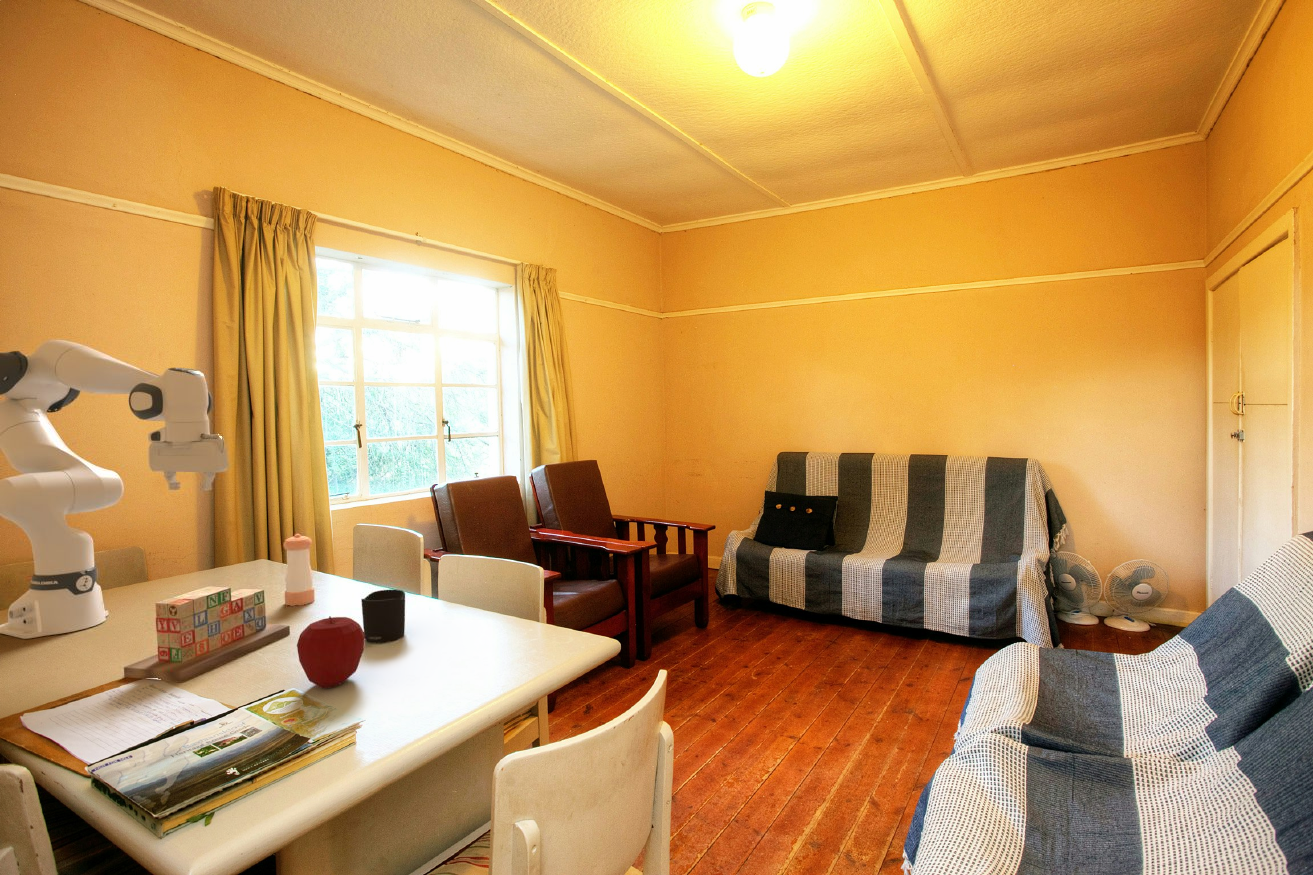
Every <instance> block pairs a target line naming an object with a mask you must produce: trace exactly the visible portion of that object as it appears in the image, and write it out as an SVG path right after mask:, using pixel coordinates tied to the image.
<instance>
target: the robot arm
mask: <svg viewBox="0 0 1313 875" xmlns="http://www.w3.org/2000/svg"><path fill="white" fill-rule="evenodd" d="M81 392H83V393H89V394H100V395H101V394H103V395H105V394H109V395H112V394H113V395H122V394H123V395H129V396H128V406H129V409H130V411H131V412H132V414H133V415H134V416H135V417H137V419H139V420H143V421H147V422H148V421H149V422H150V421H152V422H157V421H158V422H164V426H163V427H161V428H160V429H156V430H154V431H151V432H150V433H148V434H147V440H148V441H149V442H150V444H149V446H148V465H149V468H150V470H152V472H161V473H163V478H164V479H165V480H166V482H167V484H168V485H167V486H168V490H169V491H176V490H177V491H179V490H180V488H181V486H180V485H181V484H180V483H181V482H179V481H178V480H177V479H176V476H177V472H178V473H202V477H203V478H204V479H203V482H202V483H200V484H199V485H200V486H199V487H200V491H202V492H203V491H204V492H207V491H212V490H213V489H212V488H213V486H212V483H213V482H214V480H215V478H216V473H223V472H227V471H228V469H229V467H230V463H229V462H230V461H229V456H228V450H227V446H226V443H225V439H224V438H223V437H222V436H221V434H219V433H218V434H217V433H213V434H210V433H211V432H210V419H209V416H208V415H209V414H210V413H211V410H212V409H213V406H214V405H213V404H214V399H213V396H212V394H211V392H210V391H209V390H208V384H207V380H206V377H205V374H204V373H203V372H201V371H200V370H197V369H193V368H185V367H169V368H167V369H166V370H165V371H164V372H163V373H162V374H161V375H158V374H156V373H153V372H151V371H148V370H144V369H141V368H139V367H137V366H134V365H132V364H129V363H126V362H124V361H122V360H119V359H117V358H114V357H112V356H111V355H108V354H106V353H103V352H101V351H99V350H96V349H94V348H92V347H89V346H86V345H84V344H81V343H78V342H73V341H69V340H64V339H63V340H62V339H51V340H48V341H44V342H43V343H41V344H40V345H39V346H38V347H37V348H36V349H35V352H33V353H32V354H23V353H22V352H21V351H20V350H11V351H9V352H0V396H2V397H4V399H3V400H0V450H1V452H2V453H3V455H4V456H5V458H6V460H7V462H8V463H9V465H10V467H12V468H13V469H14V470H16V472H19V473H21V474H18V475H14V476H9V477H5V478H2V479H0V517H2V518H3V519H5V520H8V521H10V522H12V523H13V524H16V525H17V526H18V527H19V528H20V529H22V531H23V532H24V533H25V534H26V536H27V538H28V539H29V542H30V545H31V549H32V550H31V551H32V556H33V564H34V565H33V566H34V567H33V568H34V573H33V575H32V574H31V575H28V576H26V578H28V579H27V580H26V581H27V582H30V583H29V587H28V590H27V591H26V592H25V593H24V594H22V595H21V596H20V597H19V598H18V599H16V600H15V601H14V602H12V603H11V604H10V606H9V607H8V612H7V622H5V623H3V624H0V634H4V635H8V636H11V637H15V638H19V639H22V640H23V639H24V640H26V639H28V640H29V639H33V638H39V637H44V636H51V635H60V634H66V633H71V632H77V631H81V630H84V629H89V628H91V627H94V626H97V625H99V624H102V623H104V622H105V621H106V619H107V618H106V617H108V616H109V610H105V605H104V600H103V599H104V598H103V593H102V592H103V591H102V588H101V586H100V585H99V584H98V583H97V581H98V579H99V578H98V574H99V573H98V567H97V566H96V565H95V548H94V547H95V546H94V539H93V538H92V536H91V535H90V534H89V533H88V532H86V531H85V530H82V529H78V528H75V527H71V526H70V525H69V524H68V523H67V520H66V515H73V514H80V513H89V512H95V511H99V510H102V509H106V508H109V507H113V506H115V505H117V504H118V503H119V502H120V500H121V499H122V498H123V495H124V491H125V486H124V482H123V480H122V478H121V477H120V475H119V474H118V473H116V472H115V471H114V470H111V469H106V468H103V467H101V466H98V465H95V464H93V463H91V462H89V461H88V460H85V459H84V458H83V457H80V456H79V455H77V453H75V452H73V451H72V450H71V449H70V448H69V447H68V446H67V445H66V443H65V442H64V441H63V440H62V438H61V436H60V435H59V434H58V432H57V430H56V429H55V427H54V426H53V425H52V422H51V421H50V420H49V418H48V416H47V413H48V414H49V413H57V412H60V411H61V410H62V409H63V408H65V407H67V406H69V405H70V404H71V403H73V402H74V401H76V399H78V397H79V396H80V394H81Z"/></svg>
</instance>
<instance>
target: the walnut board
mask: <svg viewBox="0 0 1313 875" xmlns="http://www.w3.org/2000/svg"><path fill="white" fill-rule="evenodd" d="M290 627H291V626H290V625H284V624H283V625H282V624H272V623H269V624H268V623H266V628H264V629H262V630H259V631H257V632H254V633H252V634H250V635H247V636H245V637H242V638H240V639H238V640H235V641H232V642H230V643H228V644H225V645H223V646H221V647H219V648H217V649H214V650H212V651H209V652H207V653H205V654H202V655H200V656H197V657H195V658H192V659H190V660H187V661H185V662H182V663H180V662H171V661H170V662H169V661H159V660H158V653H156V654H155V655H152V656H150V657H146V658H144V659H142V660H139V661H136V662H134V663H131V664H128V665H126V666H124V667H123V677H124V678H130V679H140V678H141V679H143V680H147V679H146V678H158V679H161V680H160V681H162V680H163V681H165V682H173V683H174V682H175V683H183V682H186V681H188V680H190V679H192V678H194V677H197V676H199V675H202V674H203V673H205V672H208V671H211V670H212V669H214V668H217V667H219V666H222V665H224V664H226V663H228V662H231V661H233V660H234V659H237V658H239V657H242V656H244V655H246V654H248V653H250V652H252V651H254V650H257V649H259V648H262V647H263V646H266V645H268V644H270V643H272V642H275V641H277V640H280V639H282V638H284V637H286V636H288V635H290V634H291V628H290Z"/></svg>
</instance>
